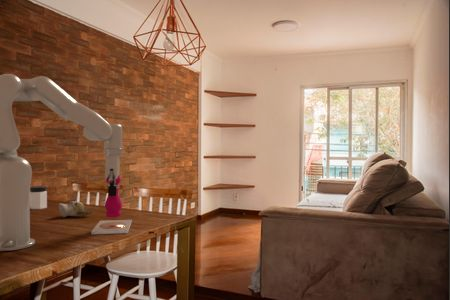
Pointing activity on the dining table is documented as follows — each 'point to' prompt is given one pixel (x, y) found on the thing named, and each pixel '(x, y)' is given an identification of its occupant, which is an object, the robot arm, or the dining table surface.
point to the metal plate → (112, 227)
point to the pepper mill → (113, 201)
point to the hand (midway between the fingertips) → (113, 194)
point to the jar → (38, 197)
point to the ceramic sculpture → (73, 209)
